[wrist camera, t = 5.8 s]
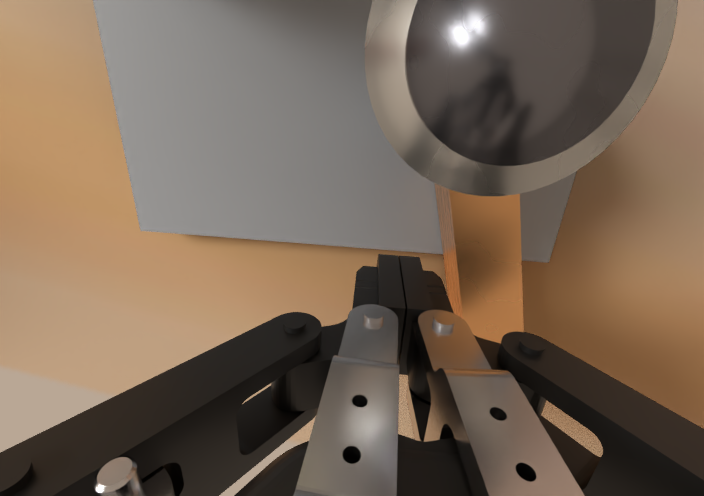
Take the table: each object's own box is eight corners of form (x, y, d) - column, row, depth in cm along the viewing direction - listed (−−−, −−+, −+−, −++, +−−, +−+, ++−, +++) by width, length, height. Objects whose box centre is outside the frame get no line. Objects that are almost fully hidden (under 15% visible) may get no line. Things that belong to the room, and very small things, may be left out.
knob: (359, 7, 11) (331, -110, 5) (528, -40, 10) (746, -248, 4) (414, 323, 15) (434, 470, 9) (533, 308, 14) (640, 457, 8)
